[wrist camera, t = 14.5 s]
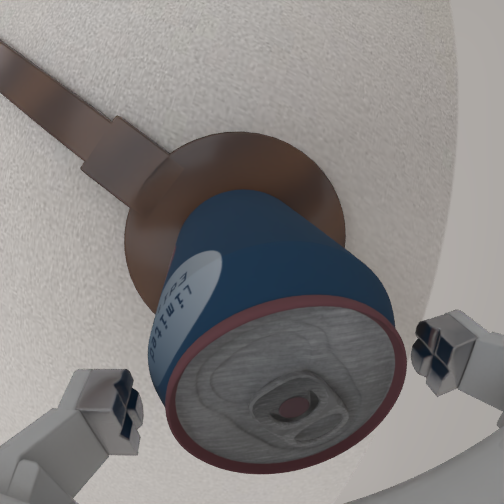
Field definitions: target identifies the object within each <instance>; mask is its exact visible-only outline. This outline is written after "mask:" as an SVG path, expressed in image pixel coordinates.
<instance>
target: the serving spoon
mask: <svg viewBox="0 0 504 504" xmlns="http://www.w3.org/2000/svg"><path fill="white" fill-rule="evenodd" d="M0 93H1V94H3V95H4V96H5V97H6V98H7V99H8V100H10V101H11V102H12V103H13V104H14V105H16V106H17V107H18V108H19V109H20V110H22V111H23V112H24V113H25V114H26V115H28V116H29V117H30V118H31V119H33V120H34V121H35V122H36V123H37V124H39V125H40V126H41V127H42V128H44V129H45V130H46V131H47V132H48V133H50V134H51V135H52V136H53V137H55V138H56V139H57V140H58V141H60V142H61V143H62V144H63V145H65V146H66V147H67V148H68V149H70V150H71V151H72V152H73V153H75V154H76V155H77V156H78V157H80V158H81V159H82V160H83V161H85V162H84V163H83V165H82V166H81V168H80V169H81V170H82V171H83V172H84V173H86V174H87V175H88V176H89V177H91V178H92V179H93V180H95V181H96V182H97V183H98V184H100V185H101V186H102V187H104V188H105V189H106V190H107V191H109V192H110V193H111V194H113V195H114V196H115V197H116V198H118V199H119V200H120V201H122V202H123V203H124V204H126V205H127V206H128V207H129V208H130V209H129V213H128V216H127V220H126V227H125V234H124V245H125V256H126V262H127V266H128V270H129V273H130V276H131V279H132V281H133V283H134V285H135V288H136V290H137V291H138V293H139V294H140V296H141V298H142V299H143V301H144V302H145V303H146V305H147V306H148V307H149V308H150V309H151V311H152V312H153V313H154V314H155V315H156V311H157V307H158V304H159V300H160V296H161V293H162V289H163V286H164V282H165V278H166V275H167V272H168V268H169V265H170V261H171V258H172V255H173V251H174V248H175V245H176V242H177V238H178V235H179V232H180V230H181V228H182V226H183V224H184V222H185V221H186V219H187V218H188V216H189V215H190V214H191V213H192V212H193V211H194V210H195V209H196V208H197V207H198V206H199V205H200V204H202V203H203V202H204V201H206V200H208V199H209V198H211V197H213V196H215V195H218V194H220V193H223V192H227V191H232V190H242V189H244V190H255V191H260V192H264V193H266V194H269V195H271V196H274V197H275V198H277V199H279V200H280V201H282V202H283V203H285V204H286V205H287V206H289V207H290V208H292V209H293V210H294V211H296V212H297V213H298V214H300V215H301V216H302V217H304V218H305V219H306V220H308V221H309V222H311V223H312V224H313V225H315V226H316V227H317V228H319V229H320V230H321V231H323V232H324V233H325V234H326V235H328V236H329V237H330V238H332V239H333V240H334V241H336V242H337V243H338V244H340V245H341V246H342V247H343V248H345V238H346V235H345V221H344V216H343V211H342V207H341V204H340V201H339V199H338V196H337V194H336V192H335V190H334V188H333V186H332V184H331V182H330V181H329V179H328V178H327V177H326V175H325V174H324V172H323V171H322V170H321V169H320V168H319V167H318V166H317V164H316V163H315V162H314V161H313V160H311V159H310V158H309V157H308V156H307V155H305V154H304V153H303V152H302V151H300V150H298V149H297V148H295V147H293V146H292V145H290V144H288V143H286V142H284V141H281V140H279V139H276V138H274V137H270V136H266V135H263V134H259V133H250V132H224V133H218V134H212V135H208V136H205V137H202V138H199V139H196V140H193V141H191V142H189V143H187V144H185V145H183V146H181V147H179V148H178V149H176V150H175V151H173V152H172V153H168V152H167V151H166V150H164V149H163V148H162V147H160V146H159V145H158V144H156V143H155V142H154V141H153V140H151V139H150V138H149V137H147V136H146V135H145V134H143V133H142V132H141V131H139V130H138V129H137V128H135V127H134V126H133V125H131V124H130V123H129V122H127V121H126V120H125V119H123V118H122V117H120V116H116V117H115V118H114V119H113V121H111V120H110V119H108V118H107V117H106V116H104V115H103V114H101V113H100V112H99V111H97V110H96V109H95V108H93V107H92V106H91V105H89V104H88V103H87V102H85V101H84V100H83V99H81V98H80V97H79V96H77V95H76V94H75V93H73V92H72V91H70V90H69V89H68V88H66V87H65V86H64V85H62V84H61V83H60V82H58V81H57V80H55V79H54V78H53V77H51V76H50V75H49V74H47V73H46V72H44V71H43V70H42V69H40V68H39V67H38V66H36V65H35V64H33V63H32V62H31V61H29V60H28V59H26V58H25V57H24V56H22V55H21V54H19V53H18V52H17V51H15V50H14V49H12V48H11V47H10V46H8V45H7V44H5V43H4V42H2V41H1V40H0Z"/></svg>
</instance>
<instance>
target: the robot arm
mask: <svg viewBox="0 0 504 504" xmlns="http://www.w3.org/2000/svg"><path fill="white" fill-rule="evenodd" d="M415 334H416V336H417V338H418V339H417V340H416V342H415V343H414V345H413V346H412V351H411V360H412V365H413V367H414V369H415V370H416V372H417V373H418V374H419V375H422V376H424V377H426V384H427V385H428V386H429V387H430V389H431V390H432V391H433V392H434V394H435V395H436V396H437V397H438V396H440V395H443V394H445V393H447V392H450V391H452V390H454V389H456V388H458V390H460V391H463V392H465V393H466V394H468V395H471V396H472V397H475V398H476V399H479V400H481V401H483V402H485V403H487V404H489V405H491V406H493V407H495V408H497V409H499V410H501V411H503V413H502V415H501V416H500V418H499V420H498V422H497V426H498V427H499V428H500V429H498V430H497V431H495V432H494V433H492V434H491V435H490V436H488V437H486V438H485V439H483V440H482V441H480V442H479V443H477V444H475V445H474V446H472V447H471V448H469V449H467V450H466V451H464V452H462V453H461V454H459V455H457V456H455V457H453V458H452V459H450V460H448V461H446V462H444V463H442V464H440V465H439V466H437V467H435V468H433V469H430V470H428V471H426V472H424V473H422V474H420V475H418V476H416V477H414V478H411V479H409V480H407V481H405V482H402V483H400V484H397V485H395V486H393V487H390V488H388V489H385V490H382V491H380V492H377V493H374V494H372V495H369V496H366V497H363V498H360V499H357V500H354V501H351V502H347V503H344V504H504V335H502V334H499V333H495V332H492V333H489V332H488V331H486V330H485V329H484V328H483V327H482V326H480V325H479V324H478V323H476V322H475V321H474V320H473V319H471V318H470V317H469V316H467V315H466V314H465V313H464V312H462V311H460V310H454V311H451V312H448V313H445V314H444V315H440V316H437V317H434V318H431V319H427V320H424V321H421V322H419V324H418V325H417V328H416V332H415ZM133 381H134V380H133V378H132V376H131V373H130V371H129V370H127V369H78V370H76V371H75V372H74V374H73V376H72V378H71V380H70V382H69V384H68V386H67V388H66V390H65V393H64V395H63V397H62V399H61V401H60V404H59V406H58V408H57V409H56V408H52V409H51V410H50V411H48V412H47V413H45V414H44V415H43V416H41V417H40V418H39V419H37V420H36V421H34V422H33V423H32V424H30V425H29V426H28V427H26V428H25V429H23V430H22V431H21V432H19V433H18V434H16V435H15V436H14V437H12V438H11V439H9V440H8V441H7V442H5V443H4V444H2V445H1V446H0V504H78V503H77V502H76V501H75V500H74V499H73V498H74V496H75V495H76V494H77V493H78V492H79V491H80V490H81V488H82V487H83V486H84V485H85V484H86V483H87V481H88V480H89V479H90V478H91V477H92V476H93V474H94V473H95V472H96V471H97V470H98V469H99V467H100V466H101V465H102V464H103V463H104V462H105V460H106V459H107V458H108V457H109V456H108V455H138V450H139V443H140V435H139V433H138V431H137V429H138V428H139V427H140V426H141V425H142V424H143V417H144V414H143V404H142V400H141V397H140V395H139V392H137V391H136V390H135V389H133V388H132V385H133Z"/></svg>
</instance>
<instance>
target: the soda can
mask: <svg viewBox="0 0 504 504" xmlns="http://www.w3.org/2000/svg"><path fill="white" fill-rule="evenodd" d="M148 365H149V371H150V375H151V379H152V382H153V385H154V387H155V390H156V392H157V394H158V396H159V398H160V399H161V401H162V403H163V405H164V406H165V410H166V417H167V421H168V424H169V427H170V429H171V432H172V433H173V435H174V437H175V438H176V440H177V441H178V442H179V444H180V445H181V446H182V447H183V448H184V449H185V450H186V451H188V452H189V453H190V454H192V455H193V456H195V457H196V458H198V459H200V460H202V461H204V462H206V463H208V464H210V465H213V466H215V467H218V468H221V469H225V470H228V471H233V472H239V473H246V474H276V473H284V472H290V471H295V470H300V469H303V468H307V467H310V466H313V465H316V464H319V463H322V462H324V461H327V460H329V459H331V458H333V457H335V456H337V455H339V454H341V453H343V452H345V451H346V450H348V449H350V448H351V447H353V446H354V445H356V444H357V443H358V442H360V441H361V440H362V439H364V438H365V437H366V436H367V435H369V434H370V433H371V432H372V431H373V430H374V429H375V428H376V427H377V426H378V425H379V424H380V423H381V422H382V421H383V419H384V418H385V417H386V415H387V414H388V413H389V412H390V410H391V409H392V407H393V406H394V404H395V402H396V400H397V398H398V397H399V394H400V392H401V390H402V387H403V384H404V380H405V376H406V369H407V358H406V351H405V347H404V344H403V341H402V339H401V337H400V335H399V333H398V332H397V330H396V329H395V321H394V315H393V310H392V305H391V302H390V299H389V297H388V294H387V292H386V290H385V288H384V286H383V285H382V283H381V282H380V280H379V279H378V277H377V276H376V275H375V274H374V273H373V272H372V270H371V269H369V268H368V267H367V266H366V265H365V264H364V263H363V262H361V261H360V260H359V259H358V258H356V257H355V256H354V255H352V254H351V253H350V252H349V251H347V250H346V249H345V248H343V247H342V246H341V245H340V244H338V243H337V242H336V241H334V240H333V239H332V238H330V237H329V236H328V235H326V234H325V233H324V232H323V231H321V230H320V229H319V228H317V227H316V226H315V225H313V224H312V223H311V222H309V221H308V220H306V219H305V218H304V217H302V216H301V215H300V214H298V213H297V212H296V211H294V210H293V209H292V208H290V207H289V206H287V205H286V204H285V203H283V202H282V201H280V200H279V199H277V198H275V197H274V196H271V195H269V194H266V193H264V192H260V191H255V190H244V189H242V190H232V191H227V192H223V193H220V194H218V195H215V196H213V197H211V198H209V199H208V200H206V201H204V202H203V203H202V204H200V205H199V206H198V207H197V208H196V209H195V210H194V211H193V212H192V213H191V214H190V215H189V216H188V218H187V219H186V221H185V222H184V224H183V226H182V228H181V230H180V232H179V235H178V238H177V242H176V245H175V248H174V251H173V255H172V258H171V261H170V265H169V268H168V272H167V275H166V278H165V282H164V286H163V289H162V293H161V296H160V300H159V304H158V307H157V311H156V315H155V319H154V323H153V327H152V331H151V335H150V339H149V345H148Z"/></svg>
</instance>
